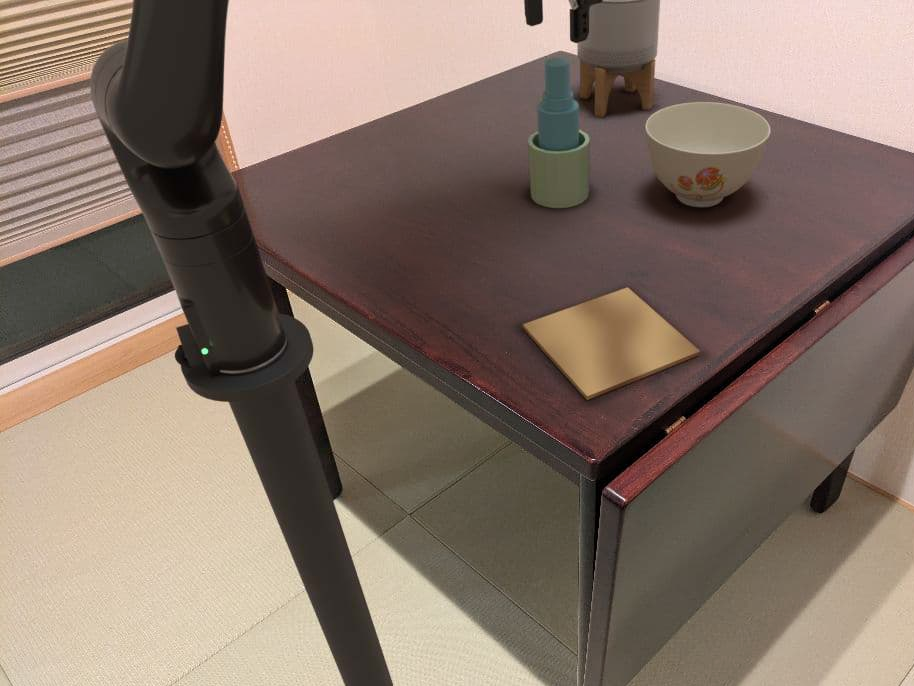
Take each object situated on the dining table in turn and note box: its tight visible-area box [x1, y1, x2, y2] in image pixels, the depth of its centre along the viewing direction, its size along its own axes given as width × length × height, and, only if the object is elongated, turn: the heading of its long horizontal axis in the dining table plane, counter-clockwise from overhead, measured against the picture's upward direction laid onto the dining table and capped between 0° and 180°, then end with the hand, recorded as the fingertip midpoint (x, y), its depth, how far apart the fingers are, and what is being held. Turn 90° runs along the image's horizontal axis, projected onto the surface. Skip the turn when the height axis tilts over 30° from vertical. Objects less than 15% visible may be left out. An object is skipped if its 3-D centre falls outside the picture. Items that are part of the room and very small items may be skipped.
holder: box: [527, 129, 591, 209], centre depth 109 cm, size 8×8×8 cm
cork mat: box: [522, 286, 701, 401], centre depth 86 cm, size 14×14×1 cm
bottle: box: [536, 57, 580, 151], centre depth 105 cm, size 5×5×18 cm
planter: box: [576, 0, 661, 118], centre depth 128 cm, size 13×13×18 cm
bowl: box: [644, 101, 772, 208], centre depth 106 cm, size 16×16×10 cm
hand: (556, 32), depth 97 cm, fingers open, 8 cm apart
